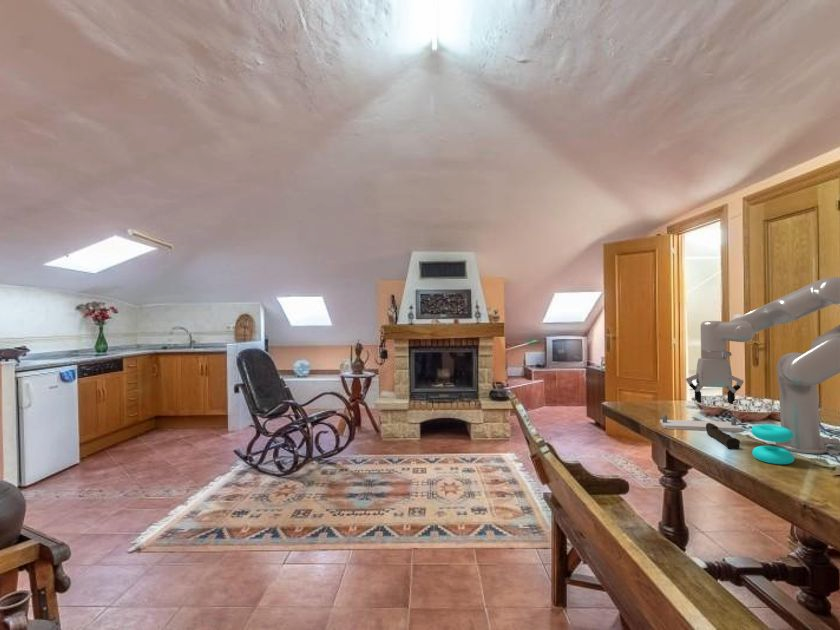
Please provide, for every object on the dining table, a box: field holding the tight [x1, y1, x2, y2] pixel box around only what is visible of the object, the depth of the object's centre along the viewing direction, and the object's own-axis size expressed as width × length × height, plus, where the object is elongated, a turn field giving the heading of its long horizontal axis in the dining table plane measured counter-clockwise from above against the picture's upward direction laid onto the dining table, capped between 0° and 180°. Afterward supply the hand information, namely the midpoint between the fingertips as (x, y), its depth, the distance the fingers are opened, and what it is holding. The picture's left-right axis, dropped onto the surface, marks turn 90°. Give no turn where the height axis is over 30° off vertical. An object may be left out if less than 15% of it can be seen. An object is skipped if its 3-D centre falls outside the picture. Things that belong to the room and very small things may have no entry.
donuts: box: [750, 424, 795, 465], centre depth 128 cm, size 10×10×10 cm
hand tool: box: [706, 423, 741, 450], centre depth 148 cm, size 19×4×5 cm, turn 166°
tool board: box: [659, 414, 743, 433], centre depth 164 cm, size 26×9×4 cm, turn 71°
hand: (714, 402), depth 148 cm, fingers open, 9 cm apart
